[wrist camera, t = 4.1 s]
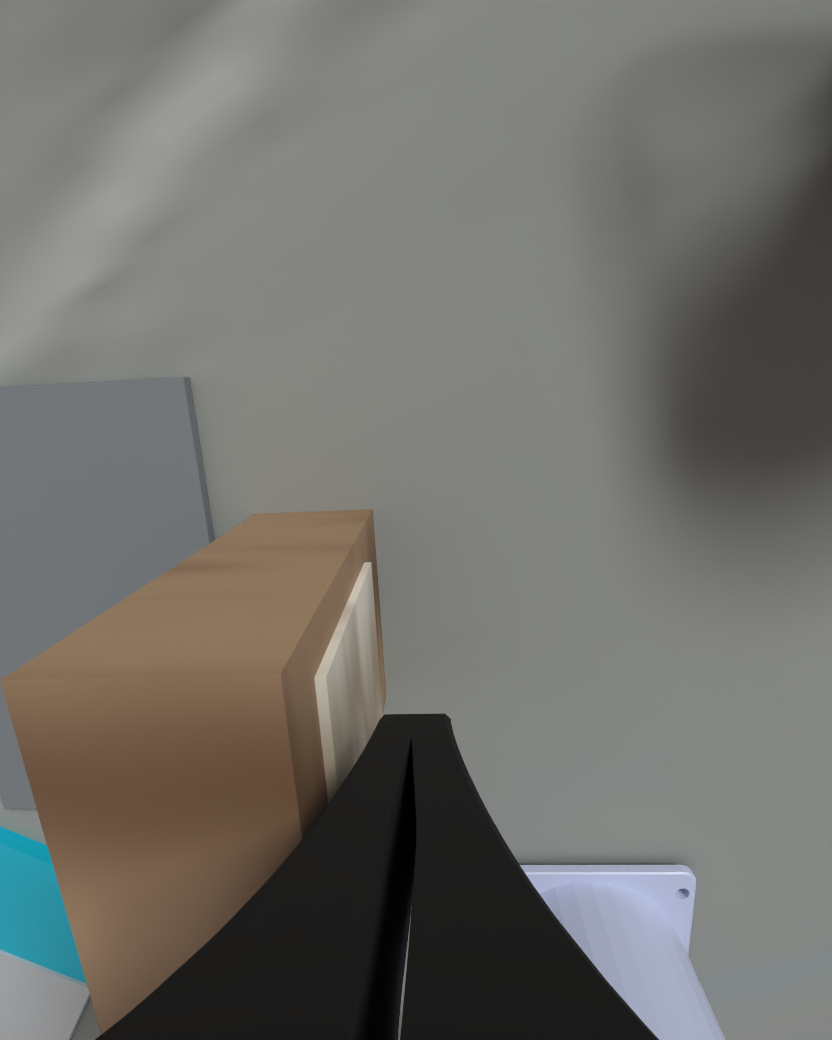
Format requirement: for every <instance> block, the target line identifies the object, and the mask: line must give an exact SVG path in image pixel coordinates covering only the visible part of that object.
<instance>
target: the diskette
mask: <svg viewBox="0 0 832 1040" xmlns="http://www.w3.org/2000/svg"><path fill="white" fill-rule="evenodd" d="M89 998H90V993H89V990H88V986H87V983H86V979H85V976H84V972H83V969H82V965H81V962H80V958H79V955H78V951H77V948H76V944H75V941H74V937H73V934H72V930H71V927H70V923H69V920H68V916H67V913H66V909H65V906H64V902H63V899H62V895H61V892H60V888H59V885H58V881H57V878H56V874H55V871H54V867H53V864H52V860H51V857H50V853H49V850H48V846H46V845H43V844H41V843H39V842H36V841H34V840H31V839H29V838H26V837H24V836H22V835H19V834H17V833H14V832H12V831H9V830H7V829H5V828H2V827H0V1040H71V1038H72V1036H73V1034H74V1031H75V1029H76V1027H77V1025H78V1022H79V1020H80V1018H81V1016H82V1014H83V1011H84V1009H85V1007H86V1005H87V1003H88V1000H89Z"/></svg>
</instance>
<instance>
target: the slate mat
mask: <svg viewBox="0 0 832 1040" xmlns="http://www.w3.org/2000/svg"><path fill="white" fill-rule="evenodd" d="M214 540H215V539H214V532H213V526H212V519H211V513H210V506H209V500H208V493H207V487H206V480H205V474H204V467H203V461H202V454H201V448H200V442H199V435H198V429H197V422H196V416H195V409H194V403H193V396H192V390H191V383H190V378H185V377H180V378H162V379H143V380H125V381H106V382H88V383H69V384H51V385H32V386H14V387H0V680H1V679H2V678H4V677H5V676H7V675H8V674H10V673H11V672H13V671H14V670H16V669H17V668H19V667H21V666H22V665H24V664H25V663H27V662H28V661H30V660H31V659H33V658H34V657H36V656H37V655H39V654H41V653H42V652H44V651H45V650H47V649H48V648H50V647H51V646H53V645H54V644H56V643H57V642H59V641H61V640H62V639H64V638H65V637H67V636H68V635H70V634H71V633H73V632H74V631H76V630H77V629H79V628H81V627H82V626H84V625H85V624H87V623H88V622H90V621H91V620H93V619H94V618H96V617H97V616H99V615H101V614H102V613H104V612H105V611H107V610H108V609H110V608H111V607H113V606H114V605H116V604H117V603H119V602H121V601H122V600H124V599H125V598H127V597H128V596H130V595H131V594H133V593H134V592H136V591H137V590H139V589H141V588H142V587H144V586H145V585H147V584H148V583H150V582H151V581H153V580H154V579H156V578H157V577H159V576H161V575H162V574H164V573H165V572H167V571H168V570H170V569H171V568H173V567H174V566H176V565H177V564H179V563H181V562H182V561H184V560H185V559H187V558H188V557H190V556H191V555H193V554H194V553H196V552H197V551H199V550H201V549H202V548H204V547H205V546H207V545H208V544H210V543H211V542H213V541H214ZM0 796H1V800H2V803H3V806H4V809H37V808H36V804H35V801H34V797H33V794H32V790H31V787H30V783H29V780H28V776H27V773H26V769H25V766H24V762H23V759H22V755H21V752H20V748H19V745H18V741H17V738H16V734H15V731H14V727H13V724H12V720H11V717H10V713H9V710H8V706H7V703H6V699H5V696H4V692H3V689H2V685H1V682H0Z"/></svg>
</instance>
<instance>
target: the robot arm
mask: <svg viewBox="0 0 832 1040" xmlns="http://www.w3.org/2000/svg"><path fill="white" fill-rule="evenodd" d="M695 889H696V878H695V876H694V874H693V873H692V871H691V870H690V868H689V867H687V866H685V865H519V863H518V862H517V860H516V859H515V857H514V856H513V854H512V852H511V851H510V849H509V848H508V846H507V844H506V843H505V841H504V839H503V838H502V836H501V834H500V832H499V831H498V829H497V827H496V825H495V824H494V822H493V820H492V818H491V817H490V815H489V813H488V811H487V809H486V807H485V805H484V804H483V802H482V800H481V798H480V796H479V794H478V792H477V790H476V788H475V785H474V783H473V781H472V779H471V777H470V775H469V773H468V771H467V768H466V766H465V764H464V761H463V759H462V756H461V754H460V751H459V749H458V746H457V743H456V740H455V737H454V734H453V730H452V726H451V719H450V718H449V717H448V716H447V715H446V714H389V715H384V716H383V717H382V718H381V719H380V720H379V722H378V724H377V726H376V728H375V730H374V732H373V734H372V736H371V738H370V739H369V741H368V743H367V745H366V747H365V748H364V750H363V752H362V753H361V755H360V757H359V758H358V760H357V762H356V763H355V765H354V766H353V768H352V770H351V771H350V773H349V774H348V776H347V777H346V779H345V780H344V782H343V783H342V785H341V787H340V788H339V790H338V791H337V793H336V794H335V795H334V797H333V798H332V800H331V801H330V802H329V804H328V805H327V807H326V808H325V809H324V811H323V812H322V813H321V815H320V816H319V817H318V819H317V820H316V821H315V823H314V824H313V826H312V827H311V828H310V830H309V831H308V832H307V834H306V835H305V836H304V837H303V839H302V840H301V841H300V842H299V844H298V845H297V846H296V847H295V849H294V850H293V851H292V852H291V853H290V855H289V856H288V857H287V858H286V859H285V861H284V862H283V863H282V864H281V865H280V866H279V867H278V869H277V870H276V871H275V872H274V873H273V874H272V875H271V877H270V878H269V879H268V880H267V881H266V882H265V883H264V884H263V886H262V887H261V888H260V889H259V890H258V891H257V892H256V893H255V894H254V895H253V896H252V897H251V898H250V899H249V900H248V901H247V902H246V903H245V905H244V906H243V907H242V908H241V909H240V910H239V911H238V912H237V913H236V914H235V915H234V916H233V917H232V918H231V919H230V920H229V921H228V922H227V923H226V924H225V925H224V926H223V927H222V928H221V929H220V930H219V931H218V932H217V933H216V934H215V935H214V936H213V937H212V938H211V939H210V940H209V941H208V942H207V943H206V944H205V945H204V946H202V947H201V948H200V949H199V950H198V951H197V952H196V953H195V954H194V955H193V956H192V957H190V958H189V959H188V960H187V961H186V962H185V963H184V964H183V965H182V966H181V967H179V968H178V969H177V970H176V971H175V972H174V973H173V974H172V975H171V976H170V977H168V978H167V979H166V980H165V981H164V982H163V983H162V984H161V985H160V986H159V987H158V988H156V989H155V990H154V991H153V992H152V993H151V994H150V995H149V996H148V997H146V998H145V999H144V1000H143V1001H142V1002H141V1003H139V1004H138V1005H137V1006H136V1007H135V1008H134V1009H132V1010H131V1011H130V1012H129V1013H128V1014H127V1015H125V1016H124V1017H123V1018H122V1019H120V1020H119V1021H118V1022H117V1023H115V1024H114V1025H113V1026H112V1027H110V1028H109V1029H108V1030H107V1031H105V1032H104V1033H103V1034H102V1035H100V1036H99V1037H98V1038H97V1039H95V1040H398V1028H399V1016H400V1004H401V993H402V984H403V976H404V967H405V959H406V950H407V941H408V933H409V924H410V916H411V924H410V937H409V949H408V961H407V972H406V983H405V994H404V1005H403V1017H402V1028H401V1038H400V1040H725V1038H724V1036H723V1033H722V1031H721V1029H720V1027H719V1024H718V1022H717V1020H716V1018H715V1015H714V1013H713V1011H712V1009H711V1007H710V1004H709V1002H708V1000H707V998H706V995H705V993H704V991H703V989H702V986H701V984H700V982H699V980H698V978H697V975H696V973H695V971H694V969H693V966H692V964H691V962H690V960H689V957H688V951H689V943H690V934H691V925H692V916H693V907H694V898H695ZM411 907H412V911H411Z"/></svg>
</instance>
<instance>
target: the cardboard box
mask: <svg viewBox="0 0 832 1040" xmlns="http://www.w3.org/2000/svg"><path fill="white" fill-rule="evenodd" d="M0 682H1V685H2V689H3V692H4V696H5V699H6V703H7V706H8V710H9V713H10V717H11V720H12V724H13V727H14V731H15V734H16V738H17V741H18V745H19V748H20V752H21V755H22V759H23V762H24V766H25V769H26V773H27V776H28V780H29V783H30V787H31V790H32V794H33V797H34V801H35V804H36V808H37V811H38V815H39V818H40V822H41V825H42V829H43V832H44V836H45V839H46V843H47V846H48V850H49V853H50V857H51V860H52V864H53V867H54V871H55V874H56V878H57V881H58V885H59V888H60V892H61V895H62V899H63V902H64V906H65V909H66V913H67V916H68V920H69V923H70V927H71V930H72V934H73V937H74V941H75V944H76V948H77V951H78V955H79V958H80V962H81V965H82V969H83V972H84V976H85V979H86V983H87V986H88V990H89V993H90V997H91V1000H92V1004H93V1007H94V1011H95V1014H96V1018H97V1021H98V1025H99V1028H100V1032H101V1035H102V1034H103V1033H104V1032H105V1031H107V1030H108V1029H109V1028H110V1027H112V1026H113V1025H114V1024H115V1023H117V1022H118V1021H119V1020H120V1019H122V1018H123V1017H124V1016H125V1015H127V1014H128V1013H129V1012H130V1011H131V1010H132V1009H134V1008H135V1007H136V1006H137V1005H138V1004H139V1003H141V1002H142V1001H143V1000H144V999H145V998H146V997H148V996H149V995H150V994H151V993H152V992H153V991H154V990H155V989H156V988H158V987H159V986H160V985H161V984H162V983H163V982H164V981H165V980H166V979H167V978H168V977H170V976H171V975H172V974H173V973H174V972H175V971H176V970H177V969H178V968H179V967H181V966H182V965H183V964H184V963H185V962H186V961H187V960H188V959H189V958H190V957H192V956H193V955H194V954H195V953H196V952H197V951H198V950H199V949H200V948H201V947H202V946H204V945H205V944H206V943H207V942H208V941H209V940H210V939H211V938H212V937H213V936H214V935H215V934H216V933H217V932H218V931H219V930H220V929H221V928H222V927H223V926H224V925H225V924H226V923H227V922H228V921H229V920H230V919H231V918H232V917H233V916H234V915H235V914H236V913H237V912H238V911H239V910H240V909H241V908H242V907H243V906H244V905H245V903H246V902H247V901H248V900H249V899H250V898H251V897H252V896H253V895H254V894H255V893H256V892H257V891H258V890H259V889H260V888H261V887H262V886H263V884H264V883H265V882H266V881H267V880H268V879H269V878H270V877H271V875H272V874H273V873H274V872H275V871H276V870H277V869H278V867H279V866H280V865H281V864H282V863H283V862H284V861H285V859H286V858H287V857H288V856H289V855H290V853H291V852H292V851H293V850H294V849H295V847H296V846H297V845H298V844H299V842H300V841H301V840H302V839H303V837H304V836H305V835H306V834H307V832H308V831H309V830H310V828H311V827H312V826H313V824H314V823H315V821H316V820H317V819H318V817H319V816H320V815H321V813H322V812H323V811H324V809H325V808H326V807H327V805H328V804H329V802H330V801H331V800H332V798H333V797H334V795H335V794H336V793H337V791H338V790H339V788H340V787H341V785H342V783H343V782H344V780H345V779H346V777H347V776H348V774H349V773H350V771H351V770H352V768H353V766H354V765H355V763H356V762H357V760H358V758H359V757H360V755H361V753H362V752H363V750H364V748H365V747H366V745H367V743H368V741H369V739H370V738H371V736H372V734H373V732H374V730H375V728H376V726H377V724H378V722H379V720H380V719H381V718H382V716H383V711H384V705H385V699H386V686H385V672H384V658H383V644H382V630H381V617H380V603H379V589H378V575H377V561H376V547H375V534H374V520H373V509H372V510H346V511H320V512H295V513H269V514H254V515H253V516H251V517H250V518H248V519H247V520H245V521H244V522H242V523H241V524H239V525H237V526H236V527H234V528H233V529H231V530H230V531H228V532H227V533H225V534H224V535H222V536H221V537H219V538H217V539H216V540H214V541H213V542H211V543H210V544H208V545H207V546H205V547H204V548H202V549H201V550H199V551H197V552H196V553H194V554H193V555H191V556H190V557H188V558H187V559H185V560H184V561H182V562H181V563H179V564H177V565H176V566H174V567H173V568H171V569H170V570H168V571H167V572H165V573H164V574H162V575H161V576H159V577H157V578H156V579H154V580H153V581H151V582H150V583H148V584H147V585H145V586H144V587H142V588H141V589H139V590H137V591H136V592H134V593H133V594H131V595H130V596H128V597H127V598H125V599H124V600H122V601H121V602H119V603H117V604H116V605H114V606H113V607H111V608H110V609H108V610H107V611H105V612H104V613H102V614H101V615H99V616H97V617H96V618H94V619H93V620H91V621H90V622H88V623H87V624H85V625H84V626H82V627H81V628H79V629H77V630H76V631H74V632H73V633H71V634H70V635H68V636H67V637H65V638H64V639H62V640H61V641H59V642H57V643H56V644H54V645H53V646H51V647H50V648H48V649H47V650H45V651H44V652H42V653H41V654H39V655H37V656H36V657H34V658H33V659H31V660H30V661H28V662H27V663H25V664H24V665H22V666H21V667H19V668H17V669H16V670H14V671H13V672H11V673H10V674H8V675H7V676H5V677H4V678H2V679H1V680H0Z"/></svg>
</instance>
